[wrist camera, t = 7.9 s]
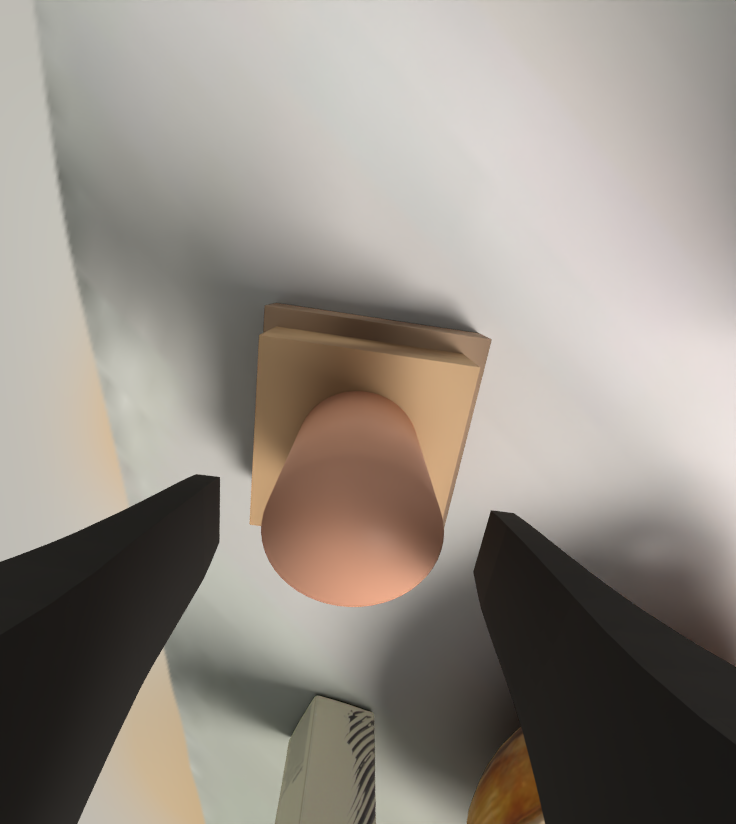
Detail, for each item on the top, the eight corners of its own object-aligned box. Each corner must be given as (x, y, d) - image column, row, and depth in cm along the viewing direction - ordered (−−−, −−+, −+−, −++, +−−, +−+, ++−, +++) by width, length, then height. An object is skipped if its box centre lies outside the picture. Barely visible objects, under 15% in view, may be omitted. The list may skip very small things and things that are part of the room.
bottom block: (474, 331, 17) (491, 339, 15) (435, 499, 20) (443, 528, 18) (279, 302, 17) (264, 305, 15) (268, 477, 20) (254, 504, 17)
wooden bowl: (524, 511, 20) (620, 654, 12) (920, 594, 22) (1216, 763, 14) (386, 826, 29) (392, 1016, 22) (669, 866, 31) (765, 1053, 24)
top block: (463, 353, 15) (480, 367, 13) (426, 511, 18) (435, 547, 15) (276, 326, 15) (259, 334, 12) (266, 491, 17) (249, 524, 15)
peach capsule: (430, 403, 13) (465, 472, 8) (403, 508, 15) (419, 617, 10) (306, 380, 13) (270, 439, 8) (290, 490, 14) (253, 593, 10)
